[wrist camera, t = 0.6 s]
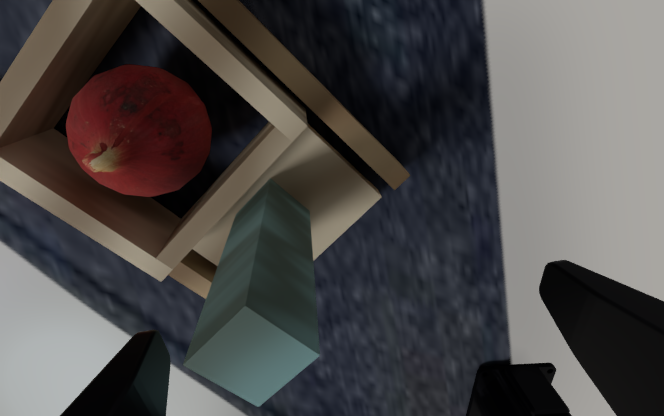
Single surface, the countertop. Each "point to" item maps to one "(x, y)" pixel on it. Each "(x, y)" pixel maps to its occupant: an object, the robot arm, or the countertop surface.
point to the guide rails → (301, 82)
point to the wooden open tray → (212, 207)
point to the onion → (139, 130)
